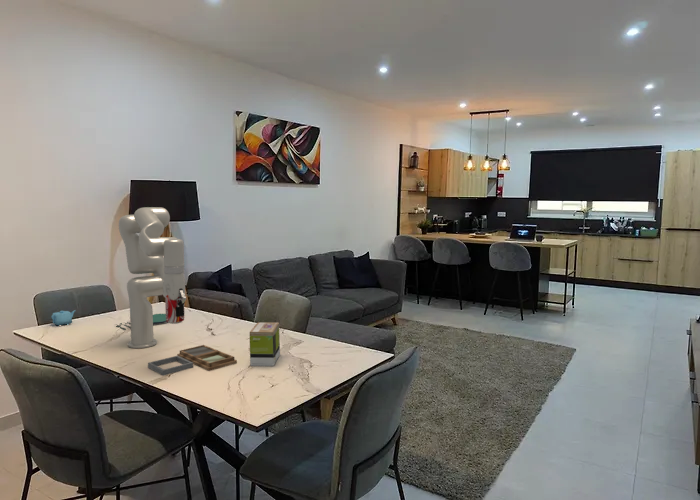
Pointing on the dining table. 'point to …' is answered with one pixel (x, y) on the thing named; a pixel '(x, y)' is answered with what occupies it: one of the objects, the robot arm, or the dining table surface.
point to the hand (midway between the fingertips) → (175, 314)
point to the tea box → (264, 344)
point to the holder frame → (163, 372)
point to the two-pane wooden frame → (207, 357)
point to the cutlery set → (156, 319)
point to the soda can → (172, 311)
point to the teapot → (62, 317)
